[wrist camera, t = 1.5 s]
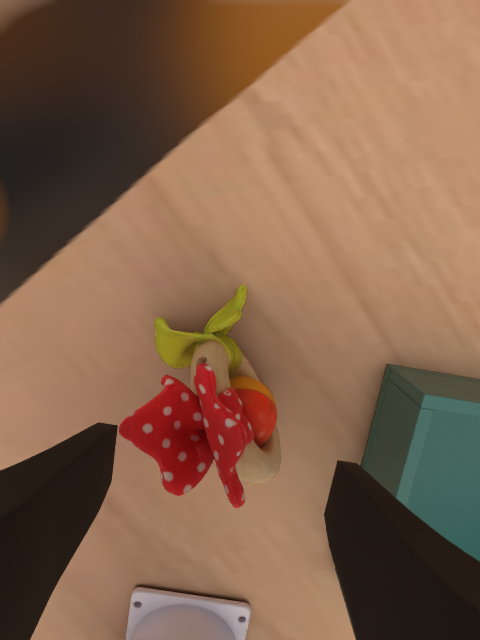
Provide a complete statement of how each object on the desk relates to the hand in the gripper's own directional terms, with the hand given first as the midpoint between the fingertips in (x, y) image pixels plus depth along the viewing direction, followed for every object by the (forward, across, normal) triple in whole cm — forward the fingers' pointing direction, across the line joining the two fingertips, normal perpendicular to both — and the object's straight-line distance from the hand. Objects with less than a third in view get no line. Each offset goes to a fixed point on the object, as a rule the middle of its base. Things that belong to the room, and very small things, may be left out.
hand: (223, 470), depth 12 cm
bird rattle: (+11, 0, 0) cm, 11 cm away
